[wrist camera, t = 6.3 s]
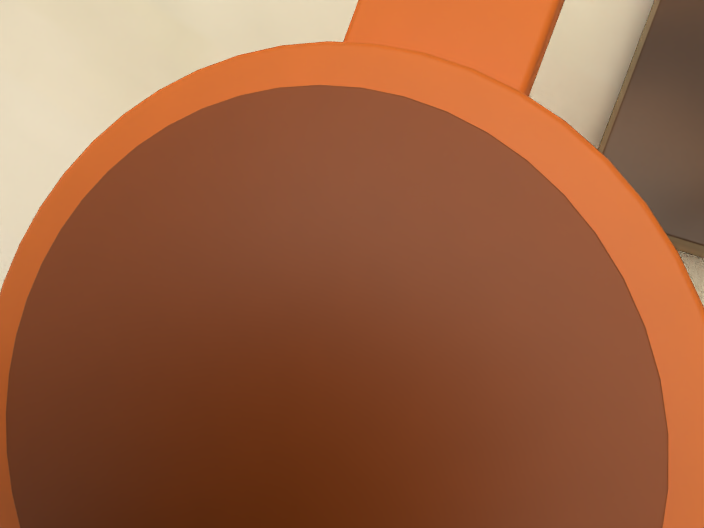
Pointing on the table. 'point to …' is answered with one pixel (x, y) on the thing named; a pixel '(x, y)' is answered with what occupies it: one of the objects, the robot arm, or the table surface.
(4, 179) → the table surface
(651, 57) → the peg stand
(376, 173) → the measuring cup
